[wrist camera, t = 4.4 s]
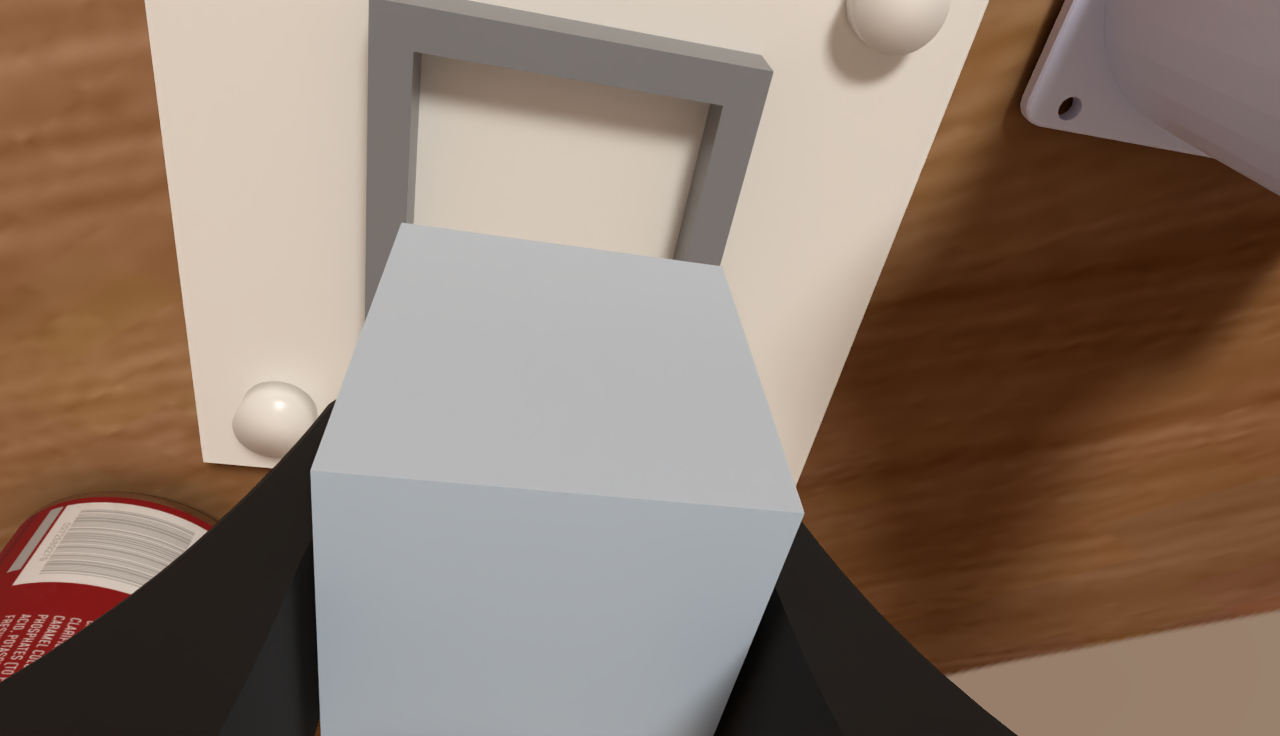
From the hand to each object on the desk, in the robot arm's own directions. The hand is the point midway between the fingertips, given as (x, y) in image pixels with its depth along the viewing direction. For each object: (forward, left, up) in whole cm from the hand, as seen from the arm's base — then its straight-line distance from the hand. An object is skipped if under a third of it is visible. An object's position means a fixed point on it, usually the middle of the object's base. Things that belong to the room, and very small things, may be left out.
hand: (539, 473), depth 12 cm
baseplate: (0, 0, -9) cm, 9 cm away
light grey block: (0, 0, -1) cm, 1 cm away
